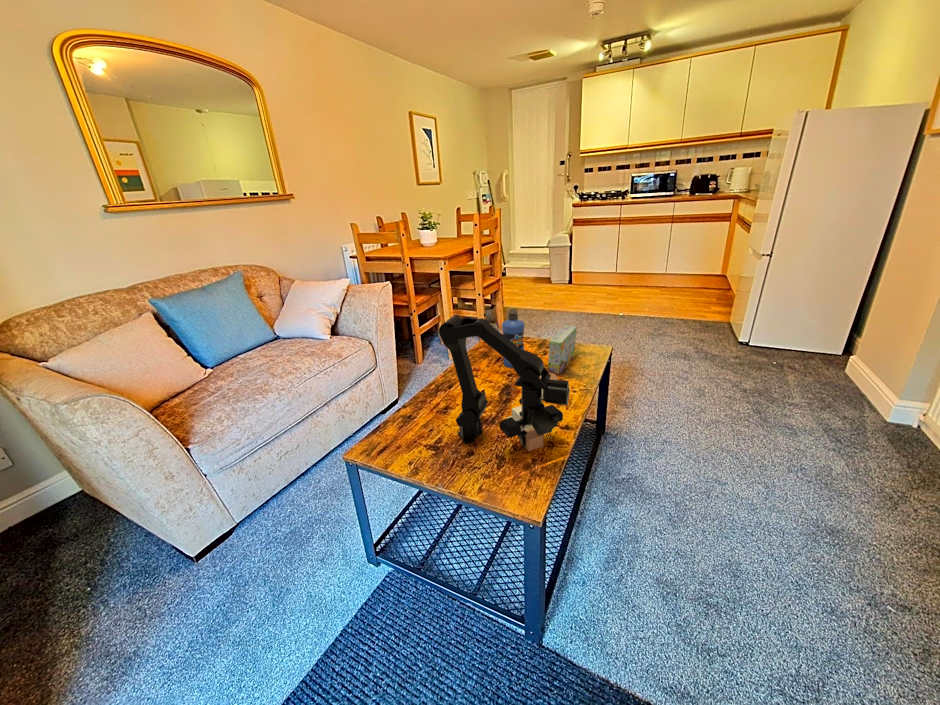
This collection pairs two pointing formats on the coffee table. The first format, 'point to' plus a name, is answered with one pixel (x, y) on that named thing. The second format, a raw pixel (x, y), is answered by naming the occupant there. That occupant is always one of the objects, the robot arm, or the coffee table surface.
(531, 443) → the top brick
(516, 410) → the bottom brick
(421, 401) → the coffee table surface
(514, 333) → the water bottle
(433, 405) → the coffee table surface
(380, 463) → the coffee table surface
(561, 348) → the snack box
